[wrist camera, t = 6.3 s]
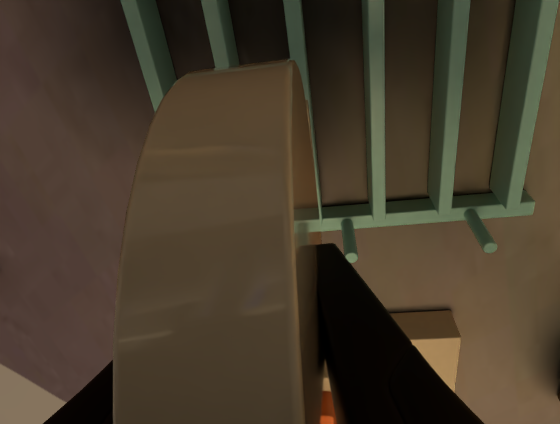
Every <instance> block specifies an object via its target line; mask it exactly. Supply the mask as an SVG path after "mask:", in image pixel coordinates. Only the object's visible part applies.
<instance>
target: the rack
mask: <svg viewBox="0 0 560 424" xmlns="http://www.w3.org/2000/svg"><path fill="white" fill-rule="evenodd" d="M120 1H121V4H122V7H123V10H124V14H125V17H126V20H127V23H128V27H129V30H130V33H131V36H132V40H133V43H134V46H135V49H136V53H137V56H138V59H139V62H140V66H141V69H142V72H143V76H144V79H145V82H146V85H147V89H148V92H149V95H150V98H151V102H152V105H153V108H154V111H155V112H156V110H157V108H158V106H159V104H160V102H161V100H162V98H163V97H164V96H165V94H166V93H167V92H168V90H169V89H170V88H171V86H172V85H173V84H174V82H176V81H177V79H176V75H175V71H174V67H173V64H172V60H171V56H170V52H169V49H168V45H167V41H166V37H165V34H164V30H163V26H162V22H161V19H160V15H159V11H158V7H157V4H156V0H120ZM361 1H362V32H363V62H364V93H365V124H366V155H367V186H368V200H369V203H368V204H356V205H345V206H333V207H322V199H321V189H320V179H319V169H318V159H317V149H316V140H315V130H314V120H313V110H312V100H311V90H310V80H309V70H308V60H307V50H306V40H305V30H304V20H303V11H302V1H301V0H283V4H284V12H285V20H286V28H287V37H288V45H289V53H290V59H293V60H295V62H296V63H297V65H298V67H299V70H300V74H301V78H302V83H303V88H304V94H305V100H308V104H309V115H310V125H311V136H312V146H313V156H314V167H315V177H316V188H317V198H318V209H319V219H320V229H321V231H333V230H342V237H343V246H344V255H345V257H346V259H347V260H348V261H349V262H350V263H353V262H355V261H357V259H358V253H357V246H356V240H355V233H354V229H359V228H372V227H384V226H397V225H410V224H423V223H436V222H449V221H461V220H466V221H467V223H468V225H469V226H470V228H471V230H472V232H473V233H474V235H475V237H476V239H477V240H478V242H479V244H480V246H481V247H482V249H483V251H484V252H486V253H493V252H494V251H496V249H497V244H496V242H495V241H494V239H493V238H492V236H491V234H490V233H489V231H488V230H487V228H486V226H485V225H484V223H483V222H482V220H481V219H487V218H500V217H513V216H526V215H532V214H533V211H534V206H535V201H534V200H533V199H532V197H531V196H530V195H529V194H528V193H527V192H526V191H525V190H523V185H524V180H525V175H526V170H527V165H528V159H529V154H530V149H531V144H532V139H533V133H534V128H535V123H536V118H537V113H538V107H539V102H540V97H541V92H542V87H543V81H544V76H545V71H546V66H547V61H548V55H549V50H550V45H551V40H552V35H553V29H554V24H555V19H556V14H557V9H558V3H559V0H516V4H515V11H514V18H513V25H512V32H511V39H510V46H509V53H508V60H507V67H506V73H505V80H504V87H503V94H502V101H501V108H500V115H499V122H498V129H497V136H496V143H495V150H494V157H493V164H492V171H491V178H490V185H489V188H490V189H491V190H492V192H493V193H486V194H474V195H462V196H453V186H454V176H455V165H456V154H457V143H458V132H459V121H460V110H461V99H462V88H463V77H464V66H465V56H466V45H467V34H468V23H469V12H470V1H471V0H438V9H437V27H436V45H435V64H434V82H433V100H432V119H431V137H430V155H429V174H428V194H429V197H430V198H427V199H415V200H403V201H392V202H386V193H385V41H384V0H361ZM201 3H202V8H203V13H204V17H205V22H206V26H207V31H208V36H209V40H210V45H211V50H212V54H213V59H214V64H215V68H217V67H225V66H233V65H240V64H239V58H238V53H237V47H236V42H235V37H234V31H233V26H232V20H231V15H230V10H229V4H228V0H201Z"/></svg>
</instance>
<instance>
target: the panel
mask: <svg viewBox="0 0 560 424" xmlns="http://www.w3.org/2000/svg"><path fill="white" fill-rule="evenodd" d="M389 314H390V315H391V316H392V317H393V319H394V320H395V321H396V323H397V324H398V325H399V326H400V328H401V329H402V330H403V332H404V333H405V334H406V335H407V337H408V338H409V339H410V341H411V342H412V345H414V346H415V347H416V348H417V349H418V350H419V352H420V353H421V354H422V356H423V357H424V358H425V359H426V361H427V362H428V363H429V364H430V365H431V367H432V368H433V369H434V370H435V371H436V373H437V374H438V375H439V376H440V377H441V379H442V380H443V381H444V382H445V383H446V384H447V385H448V386H449V388H450V389H451V390H452V391H453V392H454V389H455V381H456V374H457V366H458V358H459V351H460V343H461V336H460V333H459V331H458V328H457V326H456V323H455V320H454V318H453V315H452V313H451V311H450V310H445V311H426V312H407V313H389Z"/></svg>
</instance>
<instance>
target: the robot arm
mask: <svg viewBox="0 0 560 424" xmlns="http://www.w3.org/2000/svg"><path fill="white" fill-rule="evenodd" d="M317 292H318V301H319V310H320V319H321V328H322V337H323V346H324V355H325V362H326V367H327V373H328V378H329V384H330V389H331V394H332V400H333V405H334V411H335V416H336V422H337V424H484V423H483V422H482V421H481V420H480V419H479V418H478V417H477V416H476V415H475V414H474V413H473V412H472V411H471V410H470V409H469V408H468V407H467V405H466V404H465V403H464V402H463V401H462V400H461V399H460V398H459V397H458V396H457V395H456V394H455V393H454V392H453V391H452V390H451V389H450V388H449V386H448V385H447V384H446V383H445V382H444V381H443V380H442V379H441V377H440V376H439V375H438V374H437V373H436V371H435V370H434V369H433V368H432V367H431V365H430V364H429V363H428V362H427V361H426V359H425V358H424V357H423V356H422V354H421V353H420V352H419V350H418V349H417V348H416V347H415V346H414V345H412V342H411V341H410V339H409V338H408V337H407V335H406V334H405V333H404V332H403V330H402V329H401V328H400V326H399V325H398V324H397V323H396V321H395V320H394V319H393V317H392V316H391V315H390V314H389V312H388V311H387V310H386V309H385V307H384V306H383V305H382V303H381V302H380V301H379V300H378V298H377V297H376V296H375V294H374V293H373V292H372V291H371V289H370V288H369V287H368V286H367V284H366V283H365V282H364V280H363V279H362V278H361V277H360V275H359V274H358V273H357V271H356V270H355V269H354V268H353V266H352V265H351V264H350V262H349V261H348V260H347V259H346V257H345V256H344V255H343V254H342V252H341V251H340V250H339V248H338V247H337V246H336V245H335V244H334V243H328V244H318V245H317ZM558 399H559V401H560V390H559V393H558ZM43 424H113V360H112V361H111V362H110V363H109V364H108V365H107V366H106V367H105V368H104V369H103V370H102V371H101V372H100V373H99V374H98V375H97V376H96V377H95V378H94V379H92V380H91V381H90V382H89V383H88V384H87V385H86V386H85V387H84V388H83V389H82V390H81V391H80V392H79V393H78V394H76V395H75V396H74V397H73V398H72V399H71V400H70V401H68V402H67V403H66V404H65V405H64V406H63V407H62V408H60V409H59V410H58V411H57V412H56V413H55V414H54V415H52V416H51V417H50V418H49V419H48V420H47V421H45V422H44V423H43Z"/></svg>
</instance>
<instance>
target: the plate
mask: <svg viewBox="0 0 560 424" xmlns="http://www.w3.org/2000/svg"><path fill="white" fill-rule="evenodd" d="M318 244H322V240H321V229H320V219H319V209H318V198H317V188H316V177H315V167H314V156H313V146H312V136H311V125H310V115H309V104H308V100H305V94H304V88H303V83H302V78H301V74H300V70H299V67H298V65H297V63H296V62H295V60H293V59H282V60H274V61H266V62H258V63H250V64H242V65H233V66H225V67H217V68H209V69H201V70H195V71H190V72H188V73H187V74H185V75H184V76H183V77H181V78H180V79H179V80H177V81H176V82H174V84H173V85H172V86H171V88H170V89H169V90H168V92H167V93H166V94H165V96H164V97H163V98H162V100H161V102H160V104H159V106H158V108H157V110H156V112H155V115H154V117H153V119H152V121H151V123H150V125H149V128H148V131H147V134H146V137H145V140H144V143H143V146H142V150H141V153H140V156H139V159H138V162H137V166H136V170H135V175H134V179H133V184H132V189H131V193H130V198H129V202H128V207H127V212H126V218H125V225H124V233H123V240H122V247H121V254H120V262H119V269H118V279H117V293H116V308H115V323H114V337H113V424H334V421H333V404H332V394H331V389H330V384H329V378H328V373H327V367H326V362H325V355H324V346H323V337H322V328H321V319H320V310H319V301H318V292H317V245H318Z"/></svg>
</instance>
